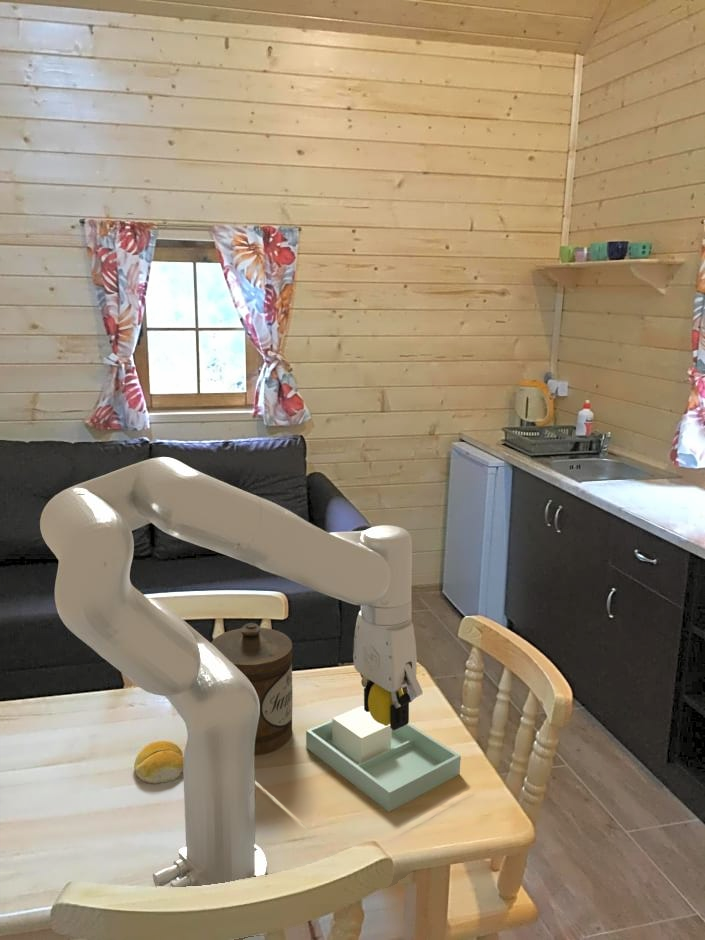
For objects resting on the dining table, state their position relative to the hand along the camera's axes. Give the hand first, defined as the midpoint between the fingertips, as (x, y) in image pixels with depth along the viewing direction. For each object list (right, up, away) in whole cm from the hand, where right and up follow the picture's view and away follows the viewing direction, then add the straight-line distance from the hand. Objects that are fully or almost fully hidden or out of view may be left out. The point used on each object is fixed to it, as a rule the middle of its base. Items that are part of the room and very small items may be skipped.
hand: (386, 716), depth 123 cm
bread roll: (-38, -13, +13) cm, 42 cm away
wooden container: (-24, -11, +23) cm, 35 cm away
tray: (0, -13, +15) cm, 20 cm away
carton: (-4, -11, +19) cm, 23 cm away
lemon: (0, -2, 0) cm, 2 cm away
